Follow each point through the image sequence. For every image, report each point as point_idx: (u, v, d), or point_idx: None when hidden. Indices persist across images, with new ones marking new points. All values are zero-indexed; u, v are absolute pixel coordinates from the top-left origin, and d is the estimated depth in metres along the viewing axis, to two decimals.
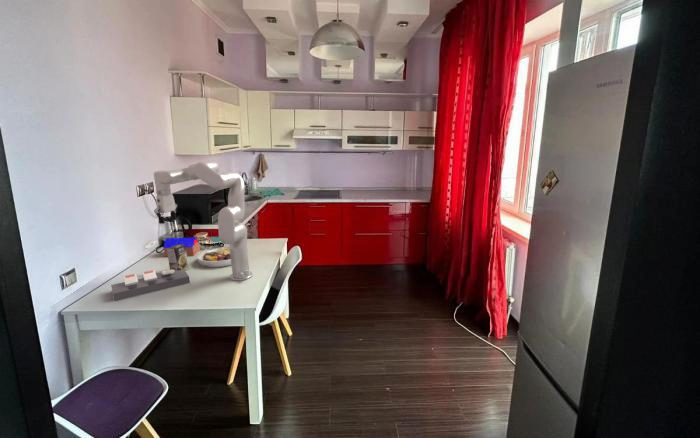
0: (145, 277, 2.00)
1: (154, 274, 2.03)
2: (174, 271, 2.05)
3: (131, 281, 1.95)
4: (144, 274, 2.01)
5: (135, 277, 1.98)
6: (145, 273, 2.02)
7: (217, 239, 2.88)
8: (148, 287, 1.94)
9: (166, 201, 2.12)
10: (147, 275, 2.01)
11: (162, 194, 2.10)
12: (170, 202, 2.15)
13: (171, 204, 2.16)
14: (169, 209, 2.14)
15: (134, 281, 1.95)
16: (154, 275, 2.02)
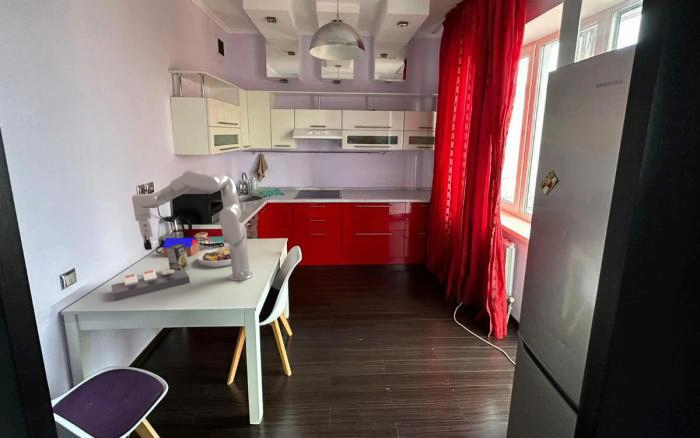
0: (145, 277, 2.00)
1: (154, 274, 2.03)
2: (174, 271, 2.05)
3: (131, 281, 1.95)
4: (144, 274, 2.01)
5: (135, 277, 1.98)
6: (145, 273, 2.02)
7: (217, 239, 2.88)
8: (148, 287, 1.94)
9: (150, 225, 2.03)
10: (147, 275, 2.01)
11: (147, 218, 2.01)
12: None
13: None
14: None
15: (134, 281, 1.95)
16: (154, 275, 2.02)
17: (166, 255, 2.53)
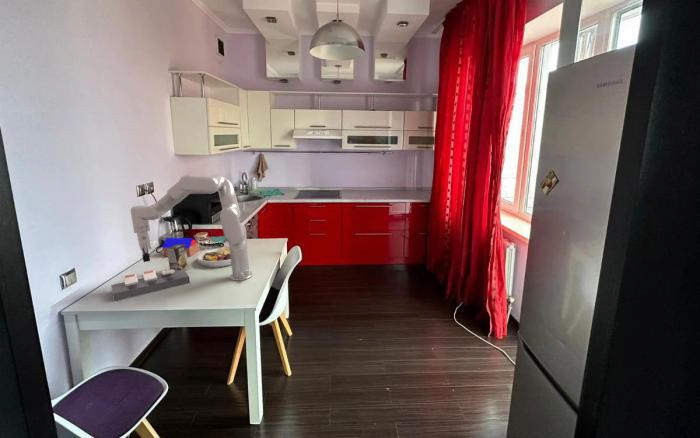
0: (145, 277, 2.00)
1: (154, 274, 2.03)
2: (174, 271, 2.05)
3: (131, 281, 1.95)
4: (144, 274, 2.01)
5: (135, 277, 1.98)
6: (145, 273, 2.02)
7: (217, 239, 2.88)
8: (148, 287, 1.94)
9: None
10: (147, 275, 2.01)
11: (146, 230, 1.97)
12: None
13: None
14: None
15: (134, 281, 1.95)
16: (154, 275, 2.02)
17: (166, 255, 2.53)
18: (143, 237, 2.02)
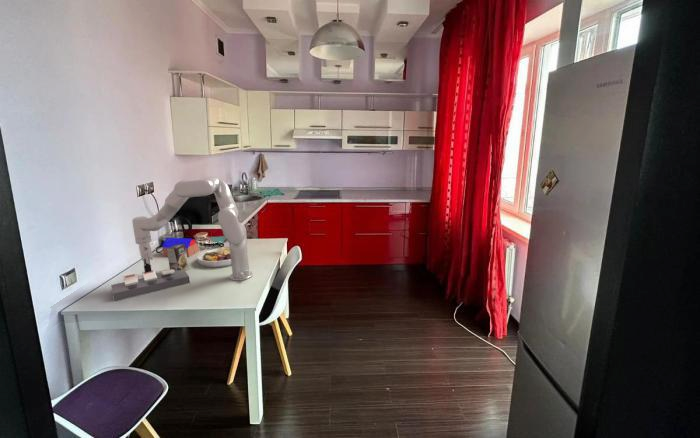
0: (145, 277, 2.00)
1: (154, 274, 2.03)
2: (174, 271, 2.05)
3: (131, 281, 1.95)
4: (144, 274, 2.01)
5: (135, 277, 1.98)
6: (145, 273, 2.02)
7: (216, 239, 2.88)
8: (148, 287, 1.94)
9: None
10: (147, 275, 2.01)
11: (148, 241, 1.99)
12: None
13: None
14: None
15: (134, 281, 1.95)
16: (154, 275, 2.02)
17: (165, 255, 2.54)
18: None
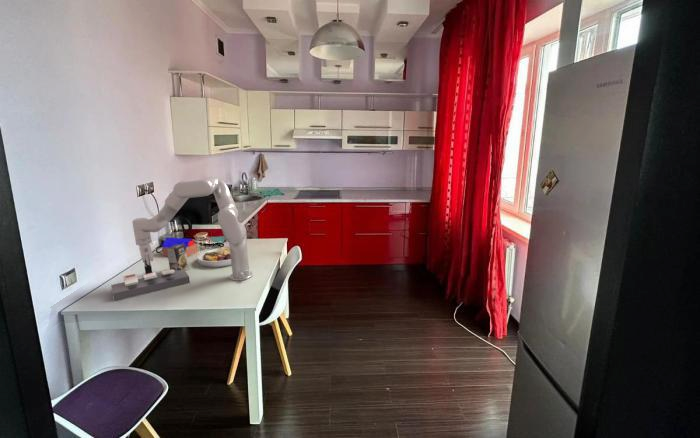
0: (145, 276, 2.00)
1: (154, 273, 2.03)
2: (174, 271, 2.05)
3: (131, 281, 1.95)
4: (144, 275, 2.02)
5: (135, 277, 1.98)
6: (145, 274, 2.03)
7: (216, 239, 2.88)
8: (148, 287, 1.94)
9: None
10: (147, 275, 2.01)
11: (148, 242, 1.99)
12: None
13: None
14: None
15: (134, 281, 1.95)
16: (154, 274, 2.02)
17: (165, 254, 2.54)
18: (145, 249, 2.03)
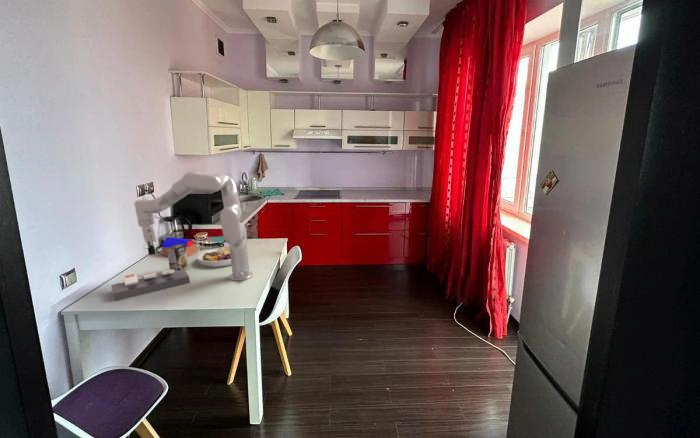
0: (145, 275, 2.00)
1: (154, 273, 2.03)
2: (174, 271, 2.05)
3: (131, 281, 1.95)
4: (144, 275, 2.02)
5: (135, 277, 1.98)
6: (145, 274, 2.03)
7: (216, 239, 2.88)
8: (148, 287, 1.94)
9: None
10: (147, 275, 2.01)
11: (151, 223, 2.00)
12: None
13: None
14: None
15: (134, 281, 1.95)
16: (154, 274, 2.02)
17: (164, 254, 2.55)
18: (148, 230, 2.05)
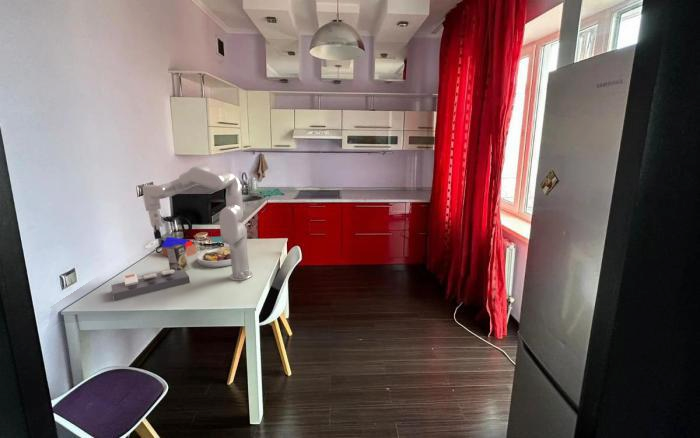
0: (145, 275, 2.00)
1: (154, 273, 2.03)
2: (174, 271, 2.05)
3: (131, 281, 1.95)
4: (144, 275, 2.02)
5: (135, 277, 1.98)
6: (145, 275, 2.03)
7: (216, 239, 2.88)
8: (148, 287, 1.94)
9: None
10: None
11: (157, 208, 2.06)
12: None
13: None
14: None
15: (134, 281, 1.95)
16: (154, 273, 2.02)
17: (164, 254, 2.56)
18: None
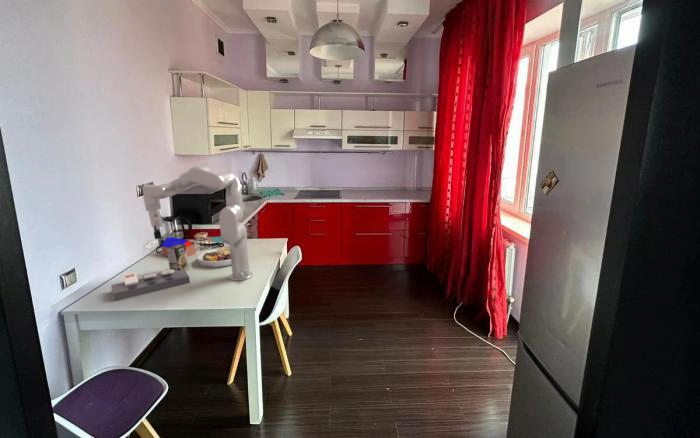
0: None
1: None
2: (174, 271, 2.05)
3: (131, 281, 1.95)
4: None
5: (135, 277, 1.98)
6: None
7: (216, 239, 2.88)
8: (148, 287, 1.94)
9: None
10: None
11: (157, 208, 2.06)
12: None
13: None
14: None
15: (134, 281, 1.95)
16: None
17: (164, 254, 2.56)
18: None
